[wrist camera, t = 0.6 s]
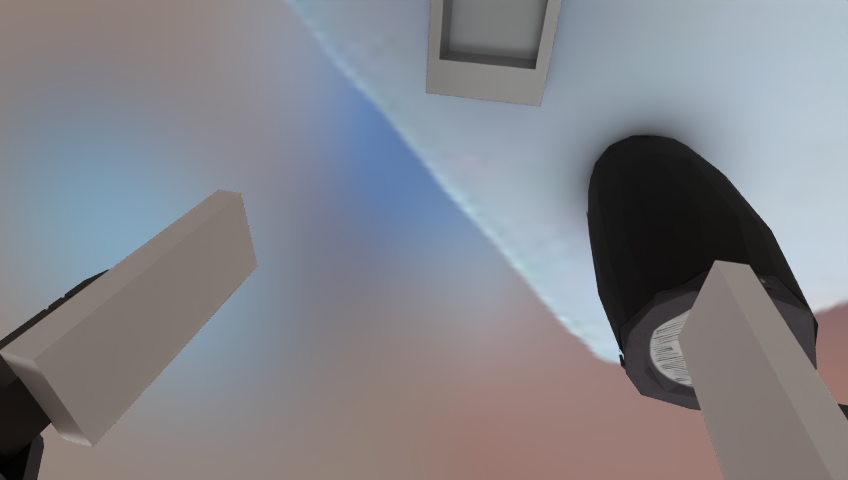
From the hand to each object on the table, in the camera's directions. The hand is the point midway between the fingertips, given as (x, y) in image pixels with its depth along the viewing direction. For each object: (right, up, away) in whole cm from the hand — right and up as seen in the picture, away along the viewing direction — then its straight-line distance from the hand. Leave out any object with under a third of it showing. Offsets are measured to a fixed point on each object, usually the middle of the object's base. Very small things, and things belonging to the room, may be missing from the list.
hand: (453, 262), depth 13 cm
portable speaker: (+17, +6, +23) cm, 29 cm away
